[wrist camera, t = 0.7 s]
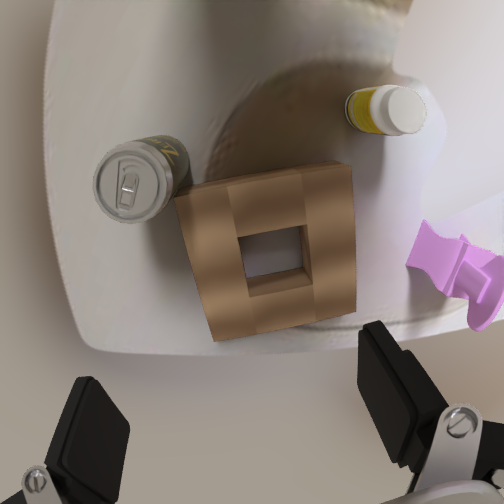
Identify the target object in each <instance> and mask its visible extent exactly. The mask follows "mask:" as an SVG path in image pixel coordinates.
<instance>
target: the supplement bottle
mask: <svg viewBox="0 0 504 504" xmlns="http://www.w3.org/2000/svg"><path fill="white" fill-rule="evenodd" d="M345 114H346V117H347V119H348V121H349V123H350V124H351V125H352V126H353V127H354V128H355V129H357V130H359V131H361V132H365V133H373V134H381V135H388V136H400V135H403V134H413V133H416V132H418V131H419V130H420V129H421V128H422V127H423V125H424V123H425V121H426V114H427V112H426V106H425V103H424V101H423V99H422V97H421V96H420V95H419V94H418V93H417V92H416V91H415V90H413V89H411V88H408V87H399V86H396V85H390V84H389V85H381V86H375V87H369V88H363V89H359V90H356V91H354V92H353V93H351V94H350V96H349V97H348V98H347V100H346V103H345Z"/></svg>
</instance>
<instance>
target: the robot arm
mask: <svg viewBox="0 0 504 504" xmlns="http://www.w3.org/2000/svg"><path fill="white" fill-rule="evenodd" d="M357 385H358V388H359V391H360V393H361V396H362V398H363V400H364V402H365V404H366V406H367V408H368V411H369V412H370V415H371V417H372V419H373V422H374V424H375V426H376V428H377V430H378V432H379V435H380V437H381V439H382V441H383V444H384V446H385V448H386V450H387V453H388V455H389V457H390V460H391V461H392V463H396V462H397V463H398V465H399V467H400V468H402V467H404V466H407V465H408V466H409V468H410V470H411V472H413V476H412V479H411V481H410V484H409V486H408V489H407V491H406V493H405V495H404V496H401V497H398V498H396V499H393V500H390V501H387V502H384V503H381V504H504V498H503V496H502V495H501V494H500V492H499V491H498V490H497V489H501V488H503V489H504V424H502V423H496V422H490V421H484V420H482V416H481V414H480V412H479V411H478V410H477V409H476V408H475V407H473V406H472V405H469V404H465V403H457V404H454V405H451V406H449V405H448V404H447V402H446V401H445V399H444V398H443V396H442V395H441V393H440V392H439V390H438V389H437V387H436V386H435V385H434V383H433V381H432V380H431V378H430V377H429V376H428V374H427V373H426V371H425V370H424V368H423V367H422V366H421V364H420V363H419V362H418V360H417V359H416V357H415V356H414V354H413V353H412V352H411V351H410V350H404V351H402V350H401V348H400V347H399V345H398V344H397V343H396V341H395V340H394V338H393V337H392V335H391V334H390V333H389V331H388V330H387V329H386V327H385V326H384V324H383V323H382V322H381V321H380V320H378V321H374V322H371V323H368V324H365V325H363V330H360V331H359V333H358V375H357ZM129 433H130V425H129V423H128V421H127V420H126V419H125V417H124V416H123V415H122V413H121V412H120V411H119V409H118V408H117V407H116V405H115V404H114V403H113V401H112V400H111V399H110V397H109V396H108V394H107V393H106V391H105V390H104V389H103V387H102V386H101V384H100V383H99V382H98V380H95V379H94V378H93V377H91V376H86V377H78V378H77V379H76V380H75V383H74V385H73V387H72V390H71V392H70V394H69V397H68V399H67V402H66V404H65V407H64V409H63V412H62V414H61V417H60V419H59V423H58V425H57V427H56V430H55V433H54V435H53V438H52V441H51V444H50V447H49V449H48V452H47V456H46V458H45V462H44V463H45V464H46V465H47V467H46V469H45V468H44V467H42V466H33V467H30V468H29V469H28V470H27V471H26V472H25V473H24V475H23V478H22V490H20V491H19V492H17V493H16V494H14V495H13V496H11V497H10V498H8V499H6V500H5V501H3V502H2V503H0V504H115V502H117V500H118V496H119V490H120V484H121V477H122V471H123V465H124V460H125V454H126V449H127V443H128V438H129Z"/></svg>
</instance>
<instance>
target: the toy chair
mask: <svg viewBox="0 0 504 504" xmlns="http://www.w3.org/2000/svg"><path fill="white" fill-rule="evenodd" d="M406 266H410V267H416V268H419V269H422V270H423V271H425V272H426V273H427V274H428V275H429V277H430V278H431V280H432V281H433V283H434V285H435V287H436V288H437V289H438V290H439V291H441V292H442V293H443V294H444V295H445V296H449V297H456V298H463V299H468V300H469V309H468V314H467V322H468V325H469V327H470V328H471V329H472V330H474V331H476V332H479V331H482V330H483V329H485V328H486V327H487V326H488V325H489V324H490V323H491V322H492V320H493V319H494V318H495V316H496V315H497V313H498V311H499V309H500V308H501V306H502V304H503V302H504V256H501V255H499V256H497V255H496V254H494V253H493V252H491V251H489V250H485V249H482V248H479V247H477V246H474V245H472V244H471V243H470V242H469V241H468V240H467V238H466V237H465V236H464V235H463V234H461V236H460V239H447V238H443V237H441V236H439V235H438V234H436V233H435V232H434V231H433V229H432V228H431V227H430V226H429V224H428V223H427V222H426V220H423V222H422V224H421V227H420V230H419V232H418V235H417V238H416V240H415V243H414V245H413V248H412V250H411V253H410V255H409V258H408V260H407V263H406Z"/></svg>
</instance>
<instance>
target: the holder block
mask: <svg viewBox="0 0 504 504" xmlns="http://www.w3.org/2000/svg"><path fill="white" fill-rule="evenodd" d="M173 199H174V203H175V207H176V211H177V215H178V219H179V222H180V226H181V230H182V234H183V238H184V242H185V245H186V249H187V253H188V256H189V260H190V264H191V267H192V271H193V274H194V278H195V281H196V285H197V288H198V291H199V295H200V298H201V302H202V305H203V308H204V311H205V315H206V318H207V321H208V324H209V328H210V331H211V334H212V337H213V340H214V342H216V341H222V340H227V339H233V338H239V337H244V336H250V335H255V334H260V333H265V332H270V331H275V330H280V329H285V328H289V327H294V326H298V325H303V324H307V323H312V322H316V321H320V320H325V319H329V318H333V317H337V316H341V315H345V314H349V313H353V312H356V239H355V217H354V201H353V187H352V175H351V166H348V165H346V164H343V163H340V162H338V161H330V162H322V163H315V164H308V165H302V166H295V167H289V168H282V169H276V170H270V171H265V172H259V173H253V174H248V175H242V176H237V177H232V178H227V179H222V180H217V181H212V182H207V183H202V184H198V185H193V186H189V187H184V188H180V189H179V190H178V191H177V193H176V195H175V196H174V198H173ZM294 226H299V231H300V239H301V248H302V257H303V266H304V267H302V268H298V269H293V270H288V271H283V272H278V273H273V274H268V275H263V276H258V277H253V278H247V279H246V275H245V270H244V265H243V260H242V255H241V250H240V245H239V240H238V237H242V236H247V235H252V234H257V233H263V232H268V231H273V230H278V229H284V228H289V227H294Z"/></svg>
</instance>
